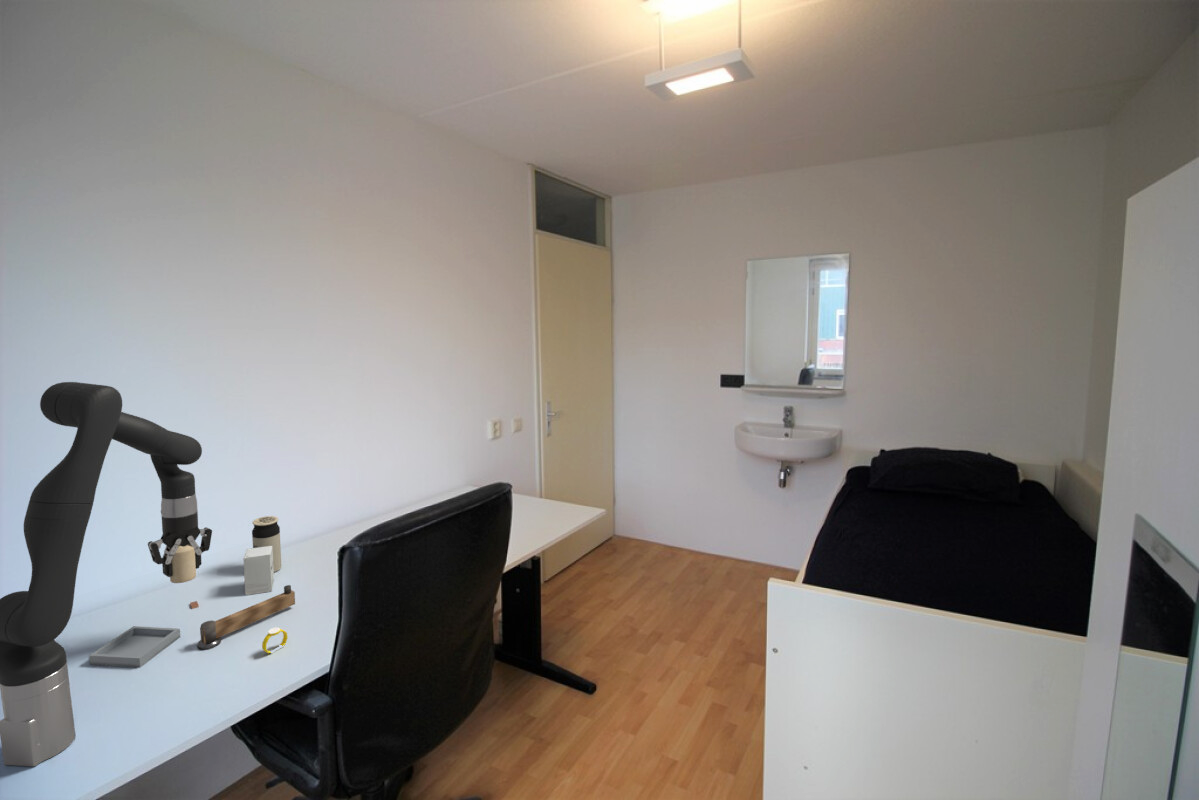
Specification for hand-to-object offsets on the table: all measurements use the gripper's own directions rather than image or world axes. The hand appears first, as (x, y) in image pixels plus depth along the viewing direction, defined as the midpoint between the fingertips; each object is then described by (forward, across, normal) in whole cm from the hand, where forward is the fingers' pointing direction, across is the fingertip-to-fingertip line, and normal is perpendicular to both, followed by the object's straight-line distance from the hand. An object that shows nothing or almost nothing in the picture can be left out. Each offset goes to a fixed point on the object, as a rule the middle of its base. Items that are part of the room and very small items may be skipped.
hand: (182, 571), depth 143 cm
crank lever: (+17, +12, -9) cm, 23 cm away
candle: (+2, 0, 0) cm, 2 cm away
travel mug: (+18, +32, +21) cm, 42 cm away
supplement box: (+18, +24, +10) cm, 32 cm away
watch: (+19, +10, -25) cm, 33 cm away
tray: (+19, -10, +3) cm, 21 cm away
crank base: (+19, +5, +2) cm, 19 cm away
